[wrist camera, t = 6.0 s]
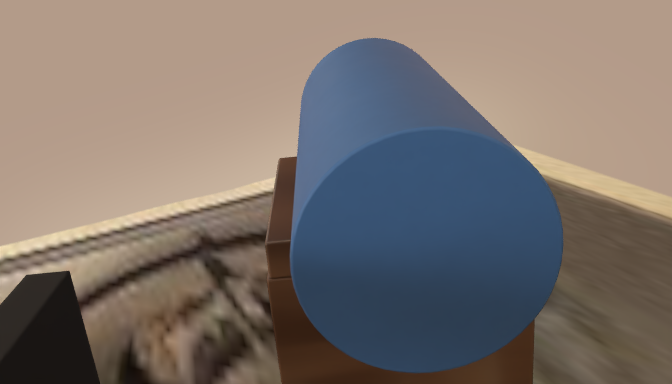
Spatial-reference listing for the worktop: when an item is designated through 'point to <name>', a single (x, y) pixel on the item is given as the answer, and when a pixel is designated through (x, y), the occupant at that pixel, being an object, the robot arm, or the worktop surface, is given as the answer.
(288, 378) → the cradle
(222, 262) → the worktop surface
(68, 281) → the robot arm
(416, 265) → the tube
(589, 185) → the worktop surface
